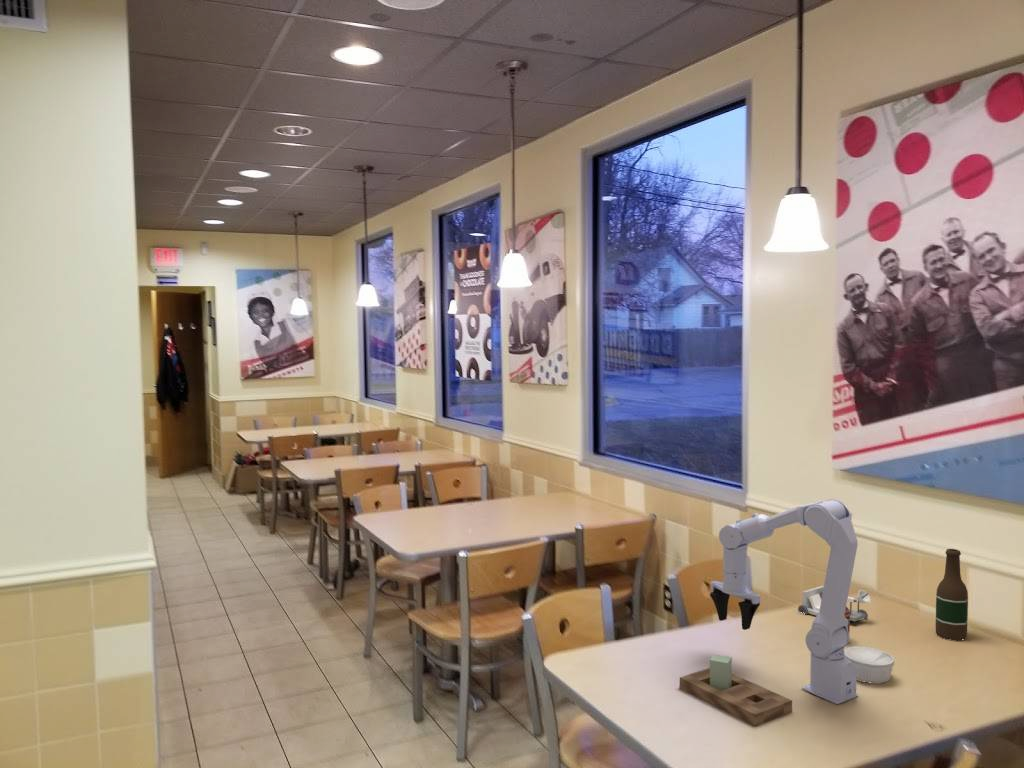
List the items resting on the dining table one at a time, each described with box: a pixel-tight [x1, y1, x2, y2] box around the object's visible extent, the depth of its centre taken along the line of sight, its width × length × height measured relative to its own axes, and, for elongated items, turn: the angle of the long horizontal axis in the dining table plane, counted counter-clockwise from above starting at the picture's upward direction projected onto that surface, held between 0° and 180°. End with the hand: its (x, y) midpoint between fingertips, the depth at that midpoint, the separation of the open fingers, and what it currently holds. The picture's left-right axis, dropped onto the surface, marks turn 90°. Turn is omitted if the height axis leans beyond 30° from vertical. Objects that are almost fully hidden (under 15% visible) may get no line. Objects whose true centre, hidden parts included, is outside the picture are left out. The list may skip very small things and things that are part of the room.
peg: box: [709, 653, 733, 691], centre depth 180 cm, size 4×4×8 cm
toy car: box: [797, 585, 871, 622], centre depth 230 cm, size 18×10×12 cm
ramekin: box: [844, 646, 895, 684], centre depth 189 cm, size 11×11×5 cm
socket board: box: [679, 667, 793, 727], centre depth 176 cm, size 22×12×2 cm, turn 33°
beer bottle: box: [935, 548, 969, 641], centre depth 214 cm, size 8×8×24 cm
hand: (734, 624), depth 198 cm, fingers open, 7 cm apart
